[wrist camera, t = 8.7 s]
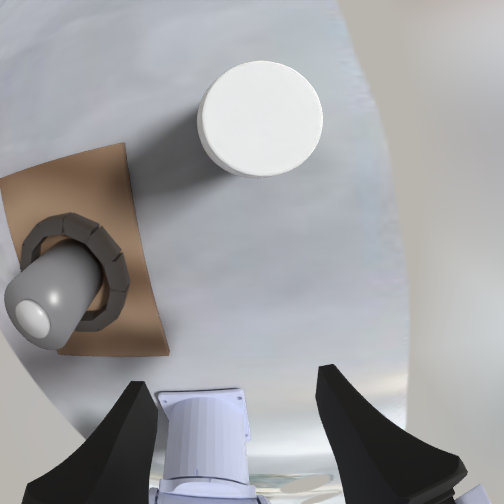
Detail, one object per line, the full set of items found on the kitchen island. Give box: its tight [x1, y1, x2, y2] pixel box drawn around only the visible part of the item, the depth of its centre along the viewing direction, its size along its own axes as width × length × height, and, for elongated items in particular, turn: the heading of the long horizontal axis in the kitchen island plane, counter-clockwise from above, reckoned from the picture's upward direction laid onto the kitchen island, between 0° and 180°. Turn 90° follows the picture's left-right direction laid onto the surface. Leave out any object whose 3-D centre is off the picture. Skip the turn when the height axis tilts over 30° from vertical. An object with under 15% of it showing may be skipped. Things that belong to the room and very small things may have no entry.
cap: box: [4, 239, 104, 350], centre depth 15 cm, size 5×5×6 cm
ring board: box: [0, 143, 170, 357], centre depth 18 cm, size 16×11×2 cm
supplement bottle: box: [197, 61, 323, 178], centre depth 12 cm, size 5×5×8 cm
